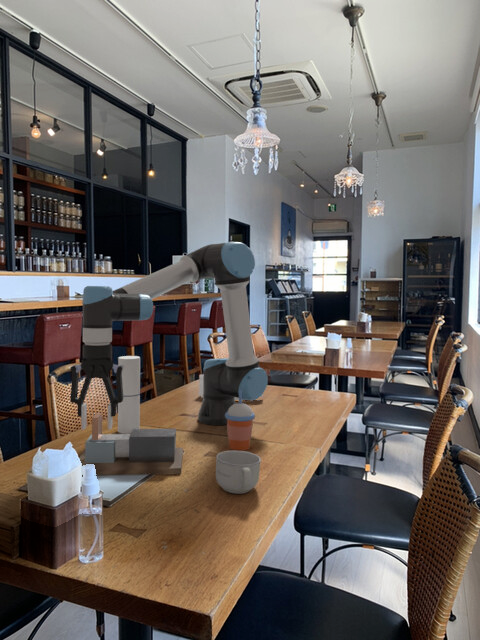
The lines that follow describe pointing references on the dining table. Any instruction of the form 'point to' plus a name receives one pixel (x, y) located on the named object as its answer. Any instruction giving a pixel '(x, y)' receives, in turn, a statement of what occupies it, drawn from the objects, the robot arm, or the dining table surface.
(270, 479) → the dining table surface
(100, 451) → the socket block
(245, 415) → the cup with straw
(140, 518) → the dining table surface
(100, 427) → the grey block with peg
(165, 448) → the outer sleeve
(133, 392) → the cylindrical container
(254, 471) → the teacup
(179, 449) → the walnut base board
